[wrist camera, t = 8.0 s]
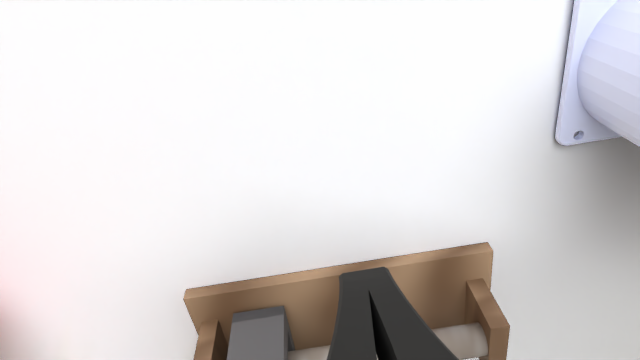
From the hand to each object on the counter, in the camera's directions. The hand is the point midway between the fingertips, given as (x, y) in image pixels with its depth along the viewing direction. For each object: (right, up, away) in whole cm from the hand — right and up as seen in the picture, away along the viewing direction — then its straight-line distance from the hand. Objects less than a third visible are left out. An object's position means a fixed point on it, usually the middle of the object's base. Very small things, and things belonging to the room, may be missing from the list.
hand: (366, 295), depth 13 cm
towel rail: (0, -5, +15) cm, 16 cm away
